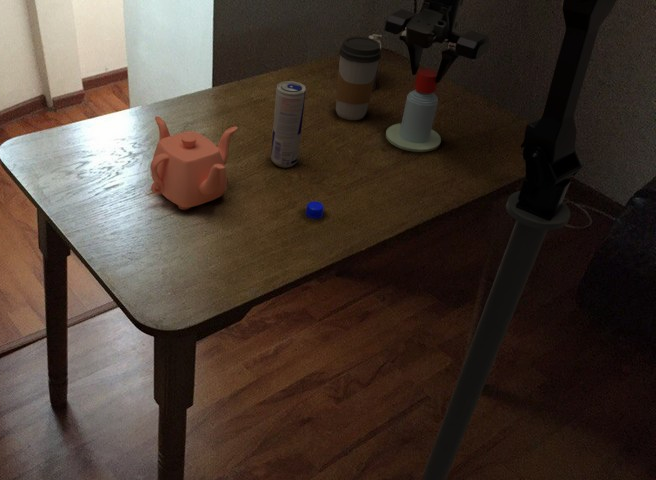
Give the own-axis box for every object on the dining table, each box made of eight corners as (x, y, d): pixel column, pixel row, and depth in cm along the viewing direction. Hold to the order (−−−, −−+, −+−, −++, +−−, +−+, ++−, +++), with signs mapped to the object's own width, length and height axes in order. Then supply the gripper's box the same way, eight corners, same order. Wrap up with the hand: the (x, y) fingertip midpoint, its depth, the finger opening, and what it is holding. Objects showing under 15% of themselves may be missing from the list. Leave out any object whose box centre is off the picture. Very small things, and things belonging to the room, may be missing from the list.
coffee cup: (372, 124, 145) (385, 52, 136) (332, 121, 145) (342, 50, 135) (368, 106, 152) (380, 36, 142) (329, 103, 151) (339, 34, 142)
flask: (361, 72, 165) (369, 26, 158) (373, 73, 165) (382, 27, 158) (364, 89, 158) (372, 42, 151) (377, 90, 158) (385, 43, 151)
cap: (411, 84, 136) (414, 68, 134) (430, 84, 137) (434, 67, 135) (418, 94, 133) (422, 77, 131) (438, 93, 134) (442, 76, 132)
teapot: (157, 168, 127) (155, 112, 120) (235, 177, 127) (238, 121, 119) (137, 212, 116) (133, 153, 109) (222, 223, 116) (224, 164, 108)
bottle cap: (313, 220, 118) (314, 212, 117) (301, 212, 120) (303, 203, 118) (326, 215, 119) (328, 207, 118) (315, 207, 121) (316, 198, 120)
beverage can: (300, 158, 133) (309, 83, 123) (293, 171, 129) (301, 94, 119) (275, 153, 134) (281, 77, 124) (266, 165, 130) (272, 89, 120)
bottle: (433, 142, 140) (448, 82, 132) (405, 143, 139) (418, 83, 130) (422, 128, 144) (436, 69, 136) (394, 129, 143) (407, 69, 135)
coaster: (449, 138, 143) (450, 135, 142) (423, 158, 136) (424, 155, 136) (402, 120, 148) (403, 117, 147) (375, 138, 141) (375, 135, 140)
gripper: (375, -11, 122) (361, 75, 133) (474, 18, 114) (450, 108, 124) (407, -24, 129) (391, 59, 139) (502, 3, 121) (477, 89, 131)
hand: (425, 78), depth 133 cm, fingers open, 5 cm apart
